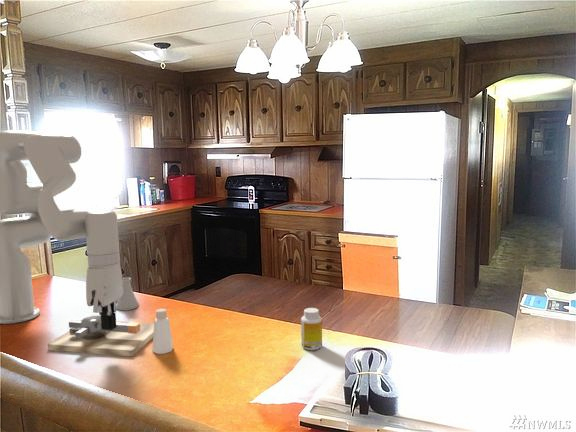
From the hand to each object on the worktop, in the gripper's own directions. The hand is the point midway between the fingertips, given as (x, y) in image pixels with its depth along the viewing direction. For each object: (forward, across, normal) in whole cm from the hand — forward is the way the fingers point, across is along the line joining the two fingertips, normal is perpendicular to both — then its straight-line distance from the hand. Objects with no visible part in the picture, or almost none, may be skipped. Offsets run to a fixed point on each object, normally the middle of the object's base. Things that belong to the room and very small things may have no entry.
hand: (109, 328), depth 115 cm
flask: (+6, -33, -14) cm, 37 cm away
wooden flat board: (+7, -8, -6) cm, 12 cm away
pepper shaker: (+7, -4, +12) cm, 15 cm away
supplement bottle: (+8, -12, +51) cm, 53 cm away
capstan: (+5, -6, -5) cm, 10 cm away
